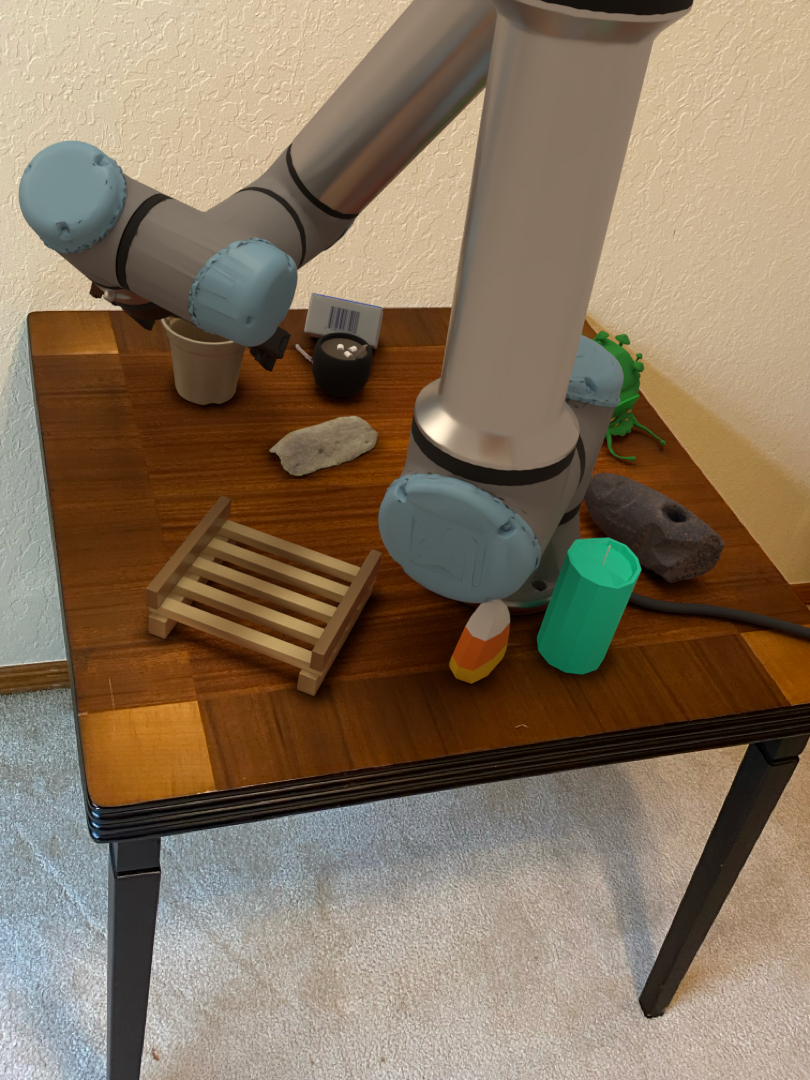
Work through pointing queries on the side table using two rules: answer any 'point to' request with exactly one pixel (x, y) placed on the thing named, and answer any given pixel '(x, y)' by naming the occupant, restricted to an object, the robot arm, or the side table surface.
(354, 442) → the grey elongated stone
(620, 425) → the figurine
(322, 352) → the mug
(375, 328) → the medicine box
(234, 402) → the side table surface
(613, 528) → the perforated stone tool
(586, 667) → the candle
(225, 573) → the dish rack
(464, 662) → the candy corn
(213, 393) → the flower pot
